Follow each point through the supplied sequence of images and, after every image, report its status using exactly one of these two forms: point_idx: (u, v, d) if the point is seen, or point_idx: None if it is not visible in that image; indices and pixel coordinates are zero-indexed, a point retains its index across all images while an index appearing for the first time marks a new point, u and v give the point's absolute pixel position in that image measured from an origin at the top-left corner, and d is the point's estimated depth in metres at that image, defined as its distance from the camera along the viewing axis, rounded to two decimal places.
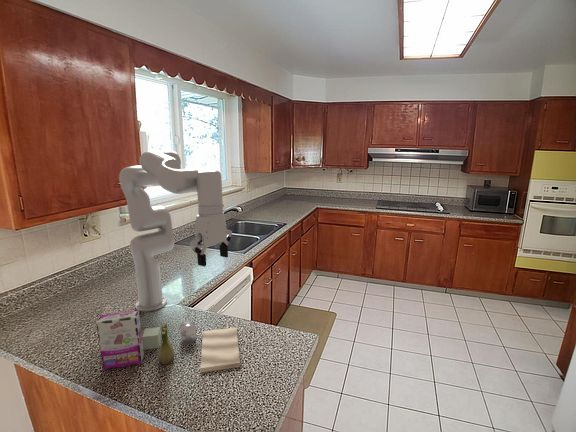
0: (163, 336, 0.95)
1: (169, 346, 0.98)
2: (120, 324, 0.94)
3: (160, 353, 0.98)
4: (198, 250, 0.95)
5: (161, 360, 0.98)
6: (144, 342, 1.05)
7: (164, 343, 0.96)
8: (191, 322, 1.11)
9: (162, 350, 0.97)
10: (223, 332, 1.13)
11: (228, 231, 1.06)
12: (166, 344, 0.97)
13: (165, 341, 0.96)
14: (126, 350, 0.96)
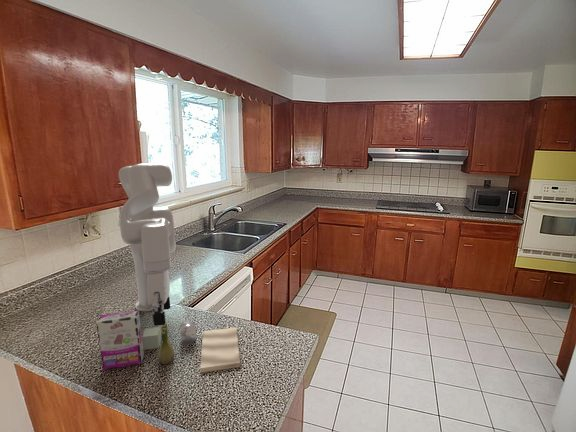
0: (163, 336, 0.95)
1: (169, 346, 0.98)
2: (120, 324, 0.94)
3: (160, 353, 0.98)
4: (160, 309, 0.89)
5: (161, 360, 0.98)
6: (144, 342, 1.05)
7: (164, 343, 0.96)
8: (191, 322, 1.11)
9: (162, 350, 0.97)
10: (223, 332, 1.13)
11: None
12: (166, 344, 0.97)
13: (165, 341, 0.96)
14: (126, 350, 0.96)
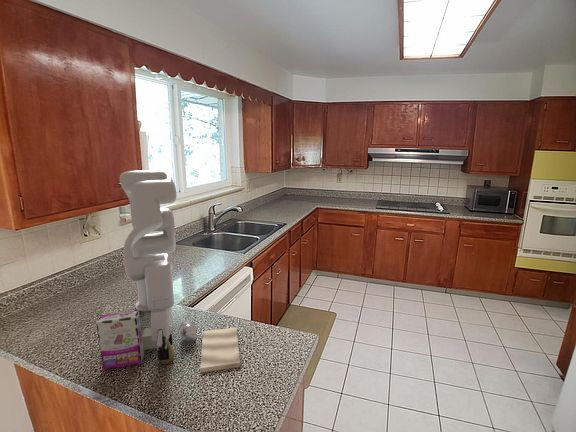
0: (163, 336, 0.95)
1: (169, 346, 0.98)
2: (120, 324, 0.94)
3: None
4: (164, 346, 0.94)
5: None
6: (144, 342, 1.05)
7: (164, 343, 0.96)
8: (191, 322, 1.11)
9: None
10: (223, 332, 1.13)
11: None
12: None
13: None
14: (126, 350, 0.96)
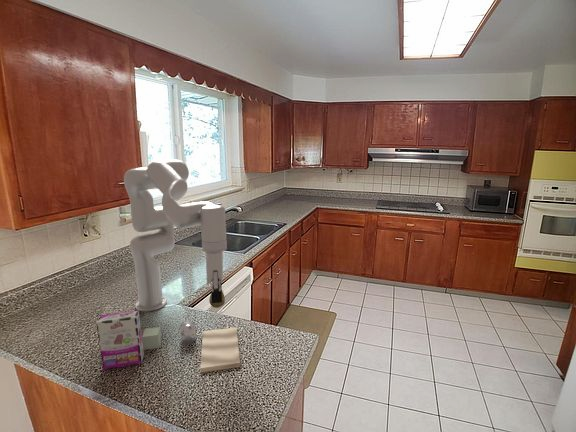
0: None
1: None
2: (120, 324, 0.94)
3: None
4: (218, 288, 0.96)
5: (213, 303, 1.00)
6: (144, 342, 1.05)
7: None
8: (191, 322, 1.11)
9: None
10: (223, 332, 1.13)
11: None
12: None
13: (218, 284, 0.98)
14: (126, 350, 0.96)
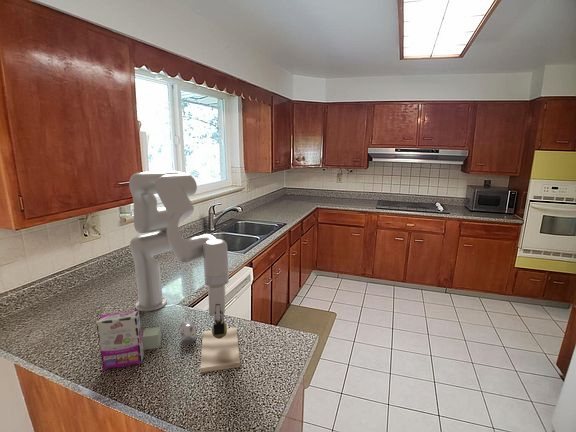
0: None
1: (223, 321, 1.03)
2: (120, 324, 0.94)
3: None
4: (221, 320, 0.98)
5: (216, 335, 1.02)
6: (144, 342, 1.05)
7: None
8: (191, 322, 1.11)
9: None
10: None
11: None
12: None
13: (220, 316, 1.01)
14: (126, 350, 0.96)
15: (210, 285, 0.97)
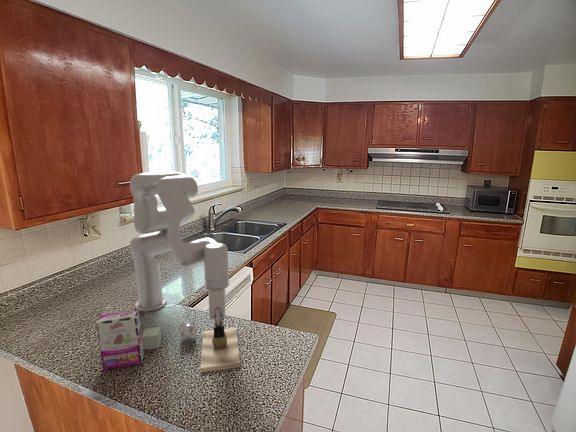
0: None
1: None
2: (120, 324, 0.94)
3: (215, 339, 1.03)
4: None
5: (216, 345, 1.03)
6: (144, 342, 1.05)
7: None
8: (191, 322, 1.11)
9: None
10: None
11: None
12: None
13: None
14: (126, 350, 0.96)
15: (210, 289, 0.97)
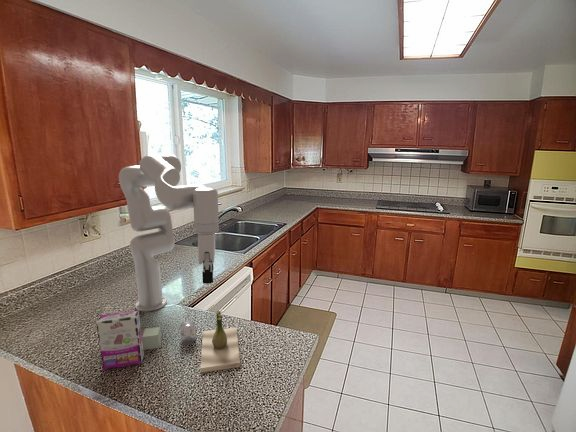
0: (219, 322, 1.00)
1: (223, 331, 1.04)
2: (120, 324, 0.94)
3: (215, 338, 1.03)
4: (210, 268, 0.96)
5: (216, 345, 1.03)
6: (144, 342, 1.05)
7: (220, 328, 1.01)
8: (191, 322, 1.11)
9: (217, 335, 1.02)
10: None
11: None
12: (221, 330, 1.02)
13: (221, 327, 1.01)
14: (126, 350, 0.96)
15: (199, 233, 0.96)
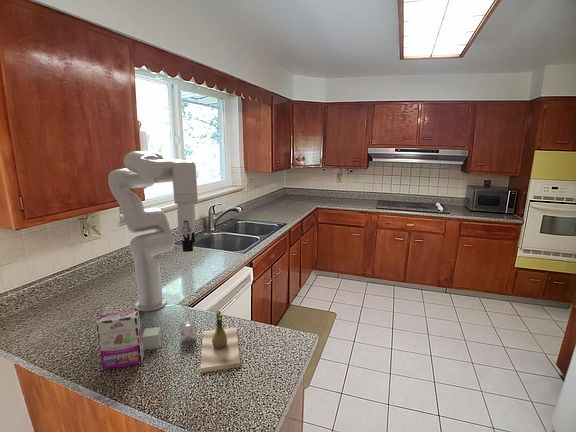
0: (219, 322, 1.00)
1: (223, 331, 1.04)
2: (120, 324, 0.94)
3: (215, 338, 1.03)
4: (189, 236, 1.01)
5: (216, 345, 1.03)
6: (144, 342, 1.05)
7: (220, 328, 1.01)
8: (191, 322, 1.11)
9: (217, 335, 1.02)
10: None
11: None
12: (221, 330, 1.02)
13: (221, 327, 1.01)
14: (126, 350, 0.96)
15: (179, 203, 1.01)
